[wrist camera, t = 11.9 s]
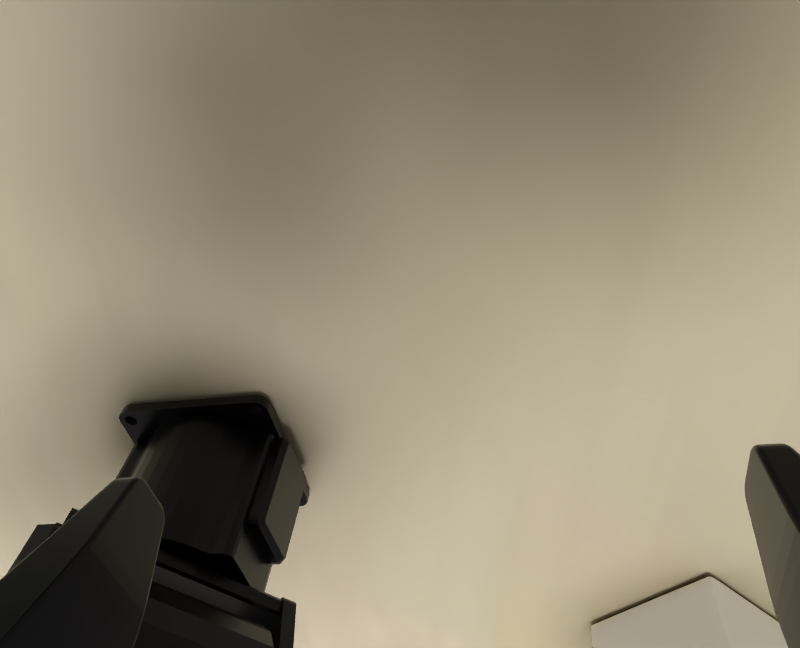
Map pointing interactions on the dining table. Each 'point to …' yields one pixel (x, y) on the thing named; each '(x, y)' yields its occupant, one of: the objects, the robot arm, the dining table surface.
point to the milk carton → (691, 622)
